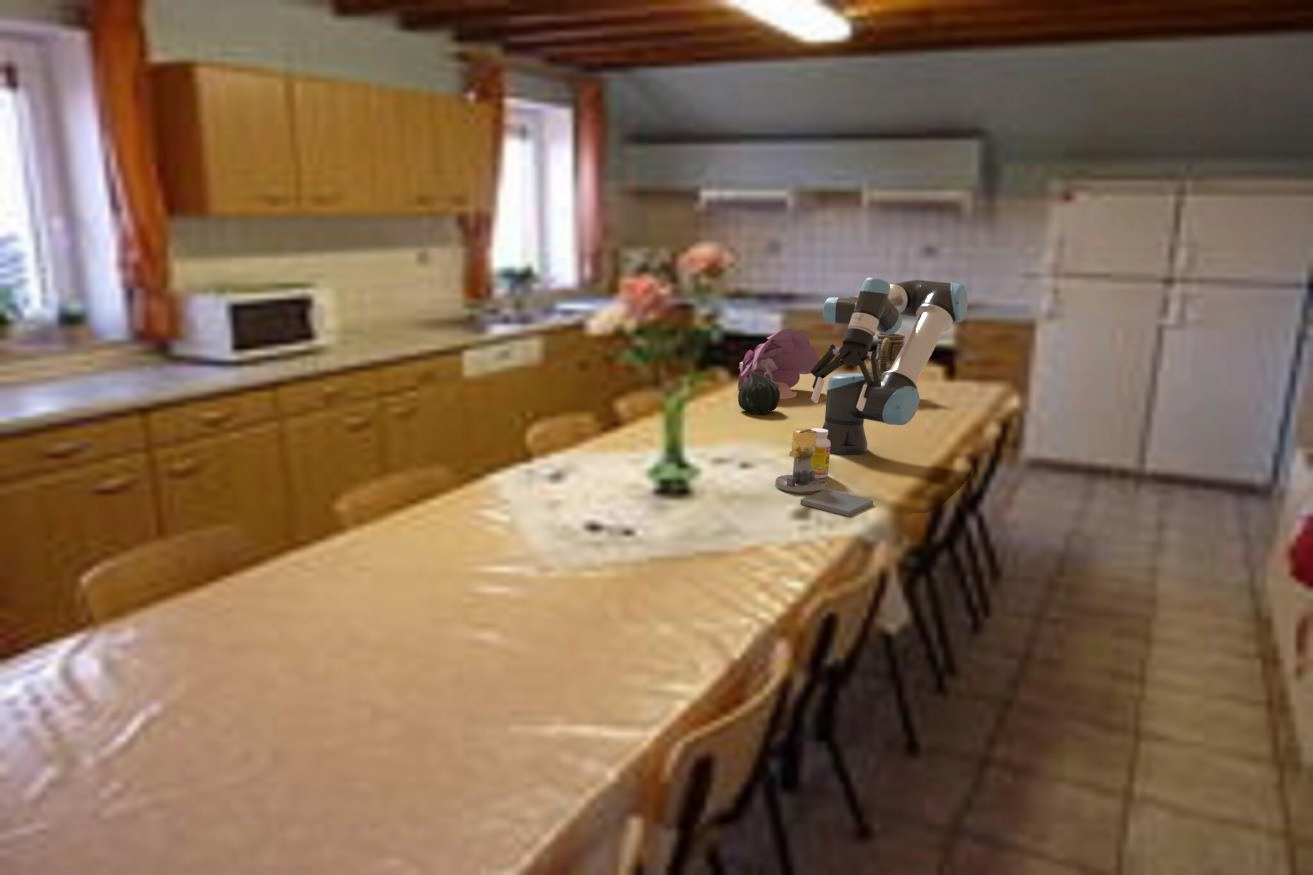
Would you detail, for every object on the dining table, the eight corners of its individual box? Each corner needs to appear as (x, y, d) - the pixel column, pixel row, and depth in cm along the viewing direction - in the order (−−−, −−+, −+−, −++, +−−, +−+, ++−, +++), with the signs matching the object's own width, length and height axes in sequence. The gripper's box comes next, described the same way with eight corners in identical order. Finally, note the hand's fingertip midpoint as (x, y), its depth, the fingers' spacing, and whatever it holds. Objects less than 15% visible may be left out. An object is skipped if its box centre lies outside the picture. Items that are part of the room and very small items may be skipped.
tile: (826, 493, 242) (827, 488, 241) (872, 504, 234) (873, 500, 233) (800, 503, 232) (800, 499, 232) (847, 516, 224) (848, 511, 224)
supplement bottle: (827, 480, 254) (831, 433, 251) (802, 477, 255) (806, 431, 252) (828, 473, 260) (832, 428, 257) (803, 471, 261) (807, 426, 258)
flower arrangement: (773, 416, 355) (789, 345, 343) (719, 395, 366) (733, 326, 354) (812, 394, 382) (828, 328, 371) (761, 375, 393) (775, 310, 381)
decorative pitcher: (900, 404, 362) (907, 339, 356) (855, 398, 369) (861, 335, 363) (912, 395, 381) (919, 333, 375) (868, 390, 388) (874, 329, 382)
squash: (793, 398, 336) (769, 363, 338) (775, 406, 324) (750, 370, 326) (765, 419, 344) (742, 385, 346) (746, 427, 332) (722, 392, 334)
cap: (803, 448, 250) (805, 425, 248) (823, 452, 246) (825, 429, 244) (782, 455, 242) (784, 431, 240) (802, 459, 238) (804, 435, 236)
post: (791, 477, 255) (794, 445, 253) (834, 487, 247) (837, 454, 245) (765, 486, 245) (768, 453, 243) (809, 498, 237) (812, 463, 235)
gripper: (814, 322, 260) (790, 392, 257) (898, 332, 245) (873, 407, 242) (825, 333, 266) (801, 402, 263) (908, 344, 251) (884, 417, 248)
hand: (836, 405), depth 252 cm, fingers open, 13 cm apart
